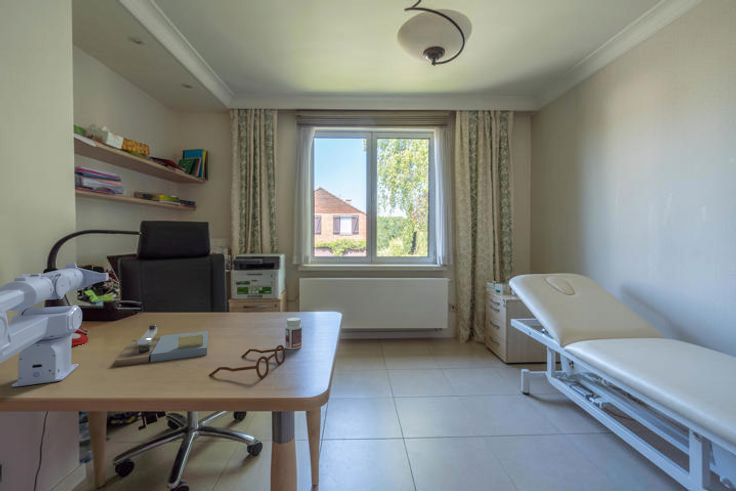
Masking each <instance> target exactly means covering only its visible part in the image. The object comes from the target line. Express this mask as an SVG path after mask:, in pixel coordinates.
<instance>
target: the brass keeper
mask: <svg viewBox="0 0 736 491" xmlns="http://www.w3.org/2000/svg"><path fill="white" fill-rule="evenodd" d="M196 346H203V334H198V335H188V336H179V337H178V348H187V347H196Z"/></svg>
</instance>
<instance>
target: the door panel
mask: <svg viewBox="0 0 736 491" xmlns="http://www.w3.org/2000/svg"><path fill="white" fill-rule="evenodd" d="M209 333H210V332H209V330H205V331H196V332H185V333H176V334H167V335H166V334H164V335H161V336H160V340H159V341H158V343H157V345H156V346H155V348H154V350H153V351H152V353H151V359H150V363H153V362H162V361H169V360H176V359H185V358H194V357H200V356H207V355H208V345H209ZM198 334H203V346H196V347H187V348H178V337H179V336H188V335H198Z"/></svg>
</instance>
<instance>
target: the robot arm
mask: <svg viewBox="0 0 736 491" xmlns="http://www.w3.org/2000/svg"><path fill="white" fill-rule="evenodd" d="M42 271H43V272H42V273H39V272H38V273H27V274H25V273H22V274H20V275H19V276H17V277H14V281H10V282H7V283H5V284H3V285H2V286H1V287H0V364H2V363H3V362H5V361H7V360H9V359H10V358H12V357H14V356H16V355H17V354H19V353H20V354H19V355H18V358H17V360H18V364H17V365H18V369H17V372H18V373H17V374H18V376H17V377H18V378H17V381H16V382H13V383H11V388H16V387H22V386H30V385H31V386H32V385H36V384H37V385H38V384H44V383H51V382H52V383H53V382H60V381H63V380H65V379H66V377H68V376H69V375H70V374H71V373H72V372H73V371H74V370H76V369H77V368H78V367H79V366H80V365H79V363H75V364H72V348H71V344H72V333H73V332H75V331H76V330H77V329H79V328H81V325H82V321H83V311H82V309H81V307H80V306H78V305H77V304H74V305H67V306H48V307H45V306H44V307H33V306H36V305H38V304H41V303H42V302H45V301H46V300H47V301H48V300H57V299H58V300H62V299H63V298H64V297H65V294H67V293H69V292H71V291H76V290H79V289H82V288H86V287H89V286H92V288H102V287H104V285H105V282H107V281H109V272H105V268H104V266H101V265H100V266H92V270H88V269H85V268H80V267H78V266H77V263H74V262H73V263H65V266H64V268H61V269H58V268H57V267H47V268H45V269H44V270H42ZM9 311H12V312H13V311H18V313H17V314H16V315H14V316H13V317H11V320H10V323H9V320H8V314H7V312H9Z"/></svg>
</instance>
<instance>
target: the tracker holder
mask: <svg viewBox="0 0 736 491" xmlns="http://www.w3.org/2000/svg"><path fill="white" fill-rule="evenodd" d="M88 335H90V332H89V330H88V329H86V328H81V327H79V329H77V330H76V331H75V332H73V333H72V344H71V347H72V348H76V347H75V346H77V347H79V346H78V345H81V346H83V345H82V344H84V345H86V344H87V343H88V342H89V337H88ZM85 343H86V344H85Z"/></svg>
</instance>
